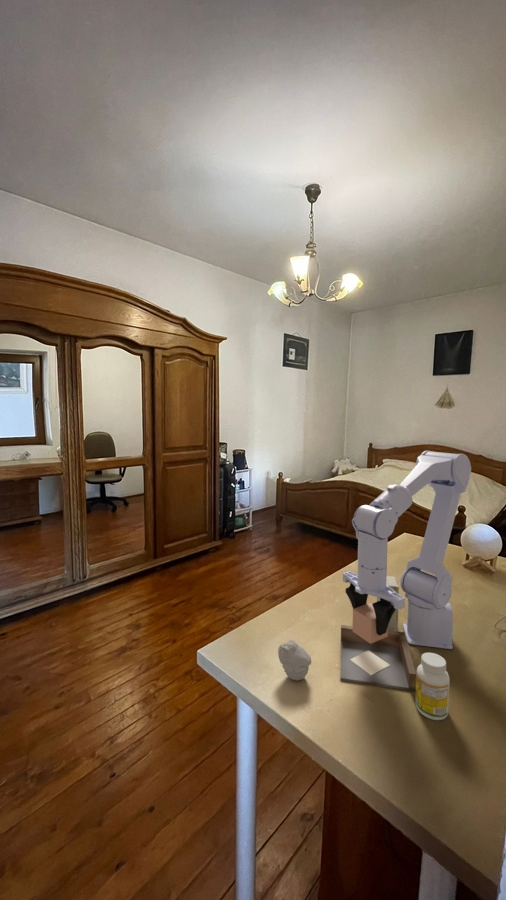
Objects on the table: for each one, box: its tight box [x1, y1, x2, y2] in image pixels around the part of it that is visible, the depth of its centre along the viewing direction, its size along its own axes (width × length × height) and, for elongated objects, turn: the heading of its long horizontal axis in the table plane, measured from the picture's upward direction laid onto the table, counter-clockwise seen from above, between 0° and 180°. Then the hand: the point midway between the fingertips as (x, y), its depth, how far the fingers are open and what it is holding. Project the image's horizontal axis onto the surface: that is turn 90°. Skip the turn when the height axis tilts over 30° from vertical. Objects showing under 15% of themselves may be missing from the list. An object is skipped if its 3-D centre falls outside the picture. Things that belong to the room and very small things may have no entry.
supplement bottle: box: [415, 652, 451, 721], centre depth 68 cm, size 5×5×10 cm
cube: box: [352, 602, 388, 644], centre depth 79 cm, size 5×5×5 cm
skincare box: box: [376, 575, 400, 632], centre depth 93 cm, size 6×4×12 cm
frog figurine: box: [277, 639, 312, 681], centre depth 77 cm, size 6×7×7 cm
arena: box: [339, 624, 417, 692], centre depth 81 cm, size 14×14×4 cm
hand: (370, 626), depth 80 cm, fingers closed on cube, 5 cm apart
